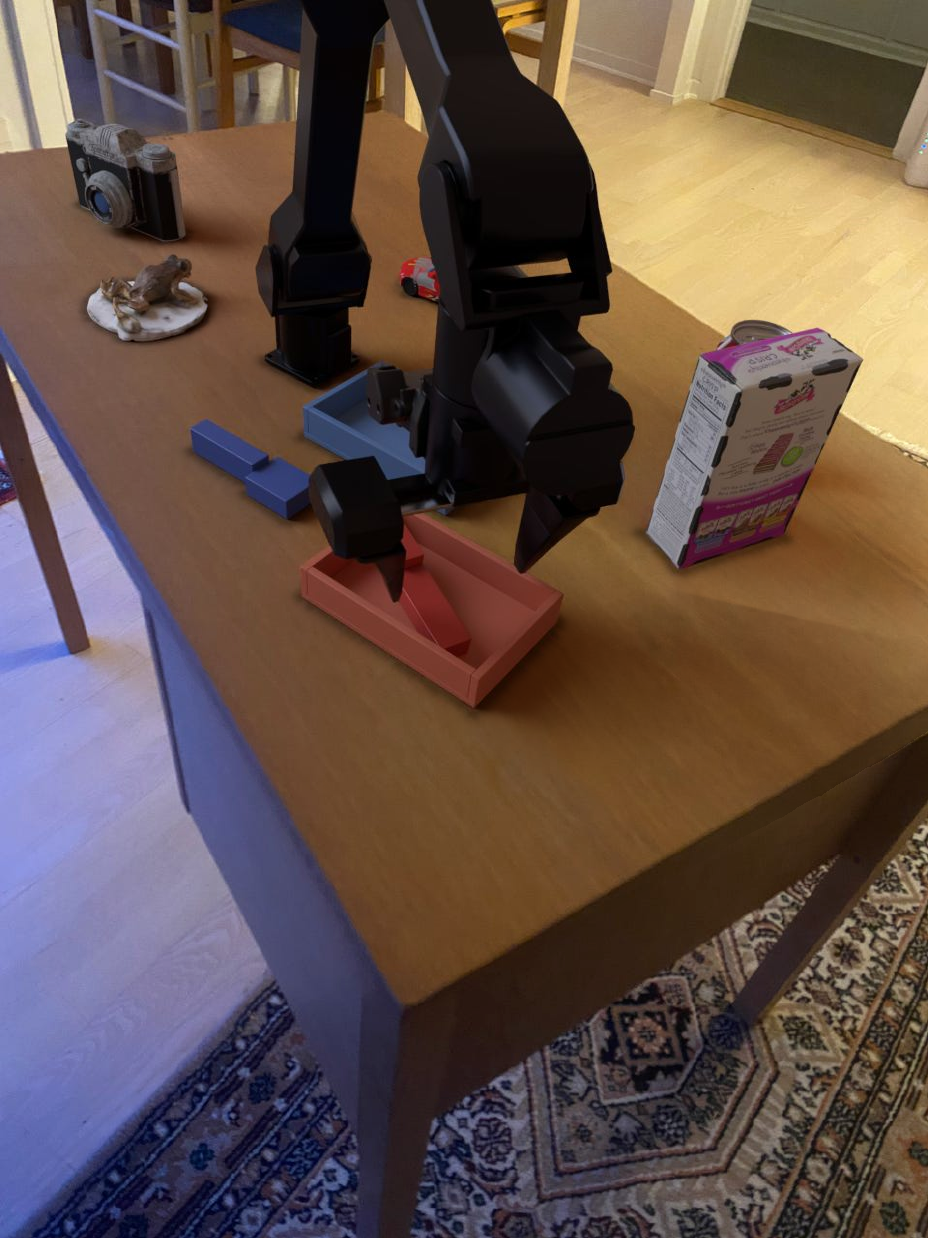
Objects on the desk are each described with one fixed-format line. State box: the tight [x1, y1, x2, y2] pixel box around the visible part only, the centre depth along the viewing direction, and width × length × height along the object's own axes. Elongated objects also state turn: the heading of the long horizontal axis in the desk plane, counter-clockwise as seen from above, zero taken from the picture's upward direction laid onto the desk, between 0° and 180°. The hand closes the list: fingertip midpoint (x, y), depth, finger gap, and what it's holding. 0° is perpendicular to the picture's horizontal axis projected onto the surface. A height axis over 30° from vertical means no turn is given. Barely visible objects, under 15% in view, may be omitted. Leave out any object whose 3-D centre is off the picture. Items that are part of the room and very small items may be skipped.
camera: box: [64, 117, 187, 243], centre depth 96 cm, size 15×7×10 cm, turn 58°
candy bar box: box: [645, 327, 864, 570], centre depth 67 cm, size 11×5×16 cm, turn 117°
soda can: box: [715, 319, 793, 350], centre depth 76 cm, size 7×7×12 cm
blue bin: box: [302, 360, 456, 516], centre depth 76 cm, size 15×10×3 cm
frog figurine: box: [86, 254, 208, 342], centre depth 87 cm, size 12×12×4 cm
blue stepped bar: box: [189, 418, 311, 520], centre depth 71 cm, size 11×4×2 cm, turn 54°
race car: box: [398, 256, 440, 303], centre depth 94 cm, size 13×5×4 cm, turn 60°
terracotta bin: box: [300, 513, 565, 709], centre depth 63 cm, size 15×10×3 cm
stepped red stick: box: [399, 524, 471, 657], centre depth 62 cm, size 11×4×2 cm
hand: (457, 583), depth 60 cm, fingers open, 9 cm apart
